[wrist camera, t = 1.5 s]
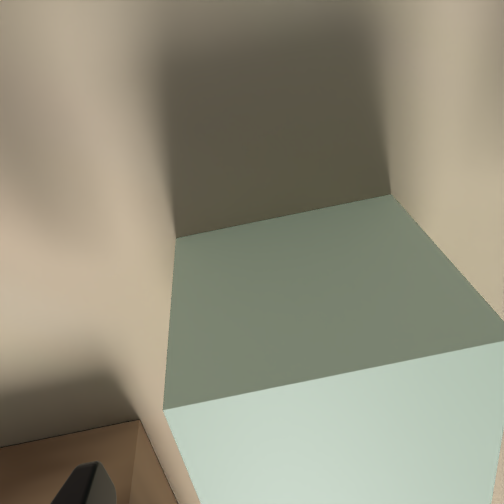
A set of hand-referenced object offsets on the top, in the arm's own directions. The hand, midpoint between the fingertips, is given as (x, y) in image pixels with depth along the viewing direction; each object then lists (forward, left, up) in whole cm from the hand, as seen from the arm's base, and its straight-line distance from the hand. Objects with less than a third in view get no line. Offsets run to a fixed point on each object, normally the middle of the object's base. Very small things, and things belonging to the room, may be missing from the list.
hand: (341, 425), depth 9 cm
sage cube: (0, 0, -4) cm, 4 cm away
